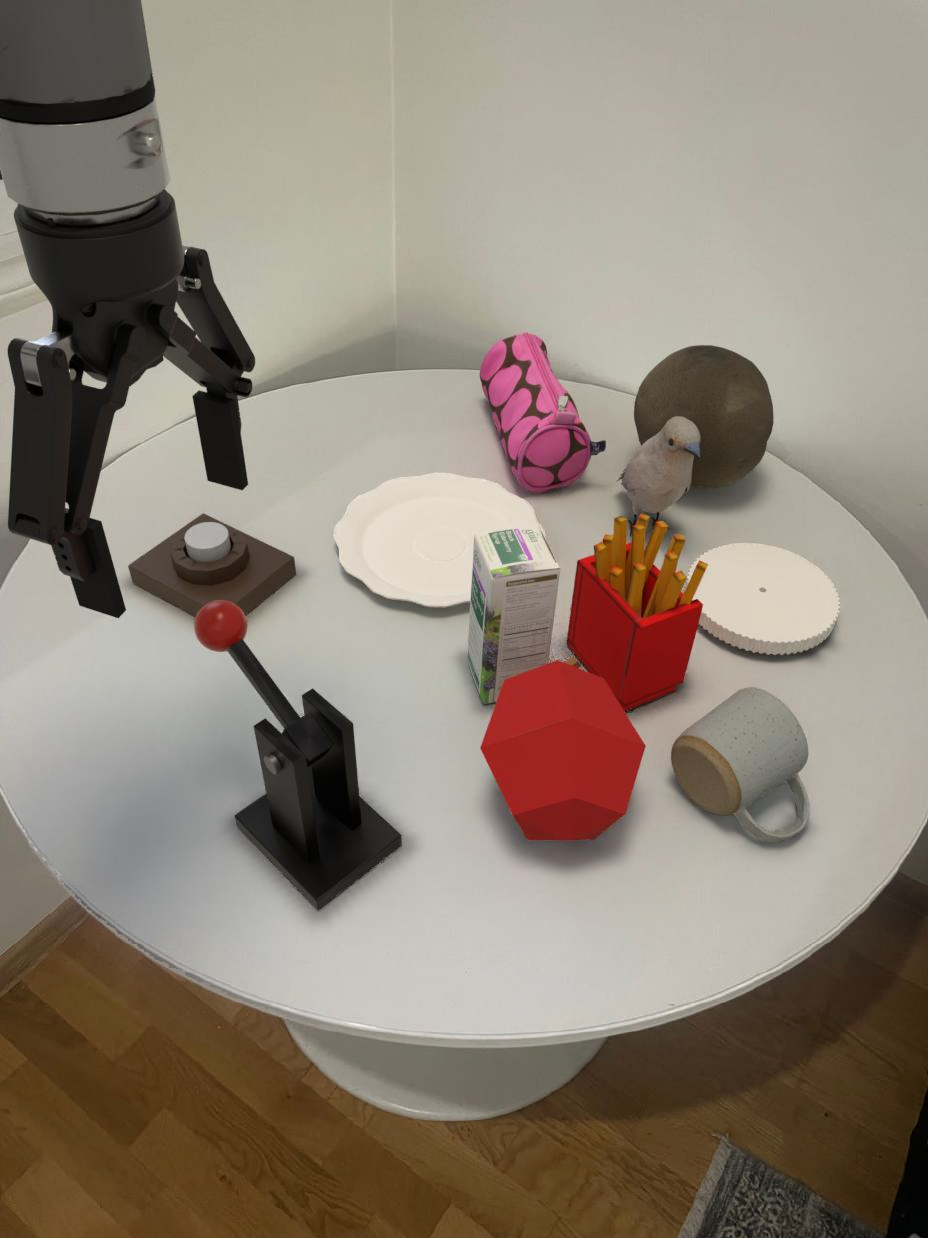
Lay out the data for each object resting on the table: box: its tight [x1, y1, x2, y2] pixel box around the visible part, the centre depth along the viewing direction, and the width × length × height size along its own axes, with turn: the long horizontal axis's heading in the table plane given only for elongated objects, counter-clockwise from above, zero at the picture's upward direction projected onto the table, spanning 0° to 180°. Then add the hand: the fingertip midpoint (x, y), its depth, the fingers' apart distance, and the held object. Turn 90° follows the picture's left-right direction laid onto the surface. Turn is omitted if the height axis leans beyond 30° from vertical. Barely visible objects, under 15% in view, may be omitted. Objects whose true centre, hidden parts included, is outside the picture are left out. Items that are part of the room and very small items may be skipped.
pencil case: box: [479, 331, 607, 493], centre depth 111 cm, size 21×10×10 cm, turn 13°
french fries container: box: [566, 512, 708, 713], centre depth 84 cm, size 7×9×14 cm
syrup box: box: [467, 526, 561, 705], centre depth 82 cm, size 6×6×14 cm
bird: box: [615, 416, 701, 538], centre depth 98 cm, size 5×14×15 cm, turn 17°
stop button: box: [184, 522, 231, 562], centre depth 93 cm, size 4×4×2 cm
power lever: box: [193, 600, 334, 767], centre depth 68 cm, size 13×4×4 cm, turn 44°
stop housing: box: [127, 512, 297, 618], centre depth 94 cm, size 12×10×4 cm
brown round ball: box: [633, 344, 775, 489], centre depth 104 cm, size 14×14×15 cm
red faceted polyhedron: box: [479, 656, 647, 842], centre depth 74 cm, size 12×12×15 cm
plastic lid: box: [683, 541, 841, 656], centre depth 93 cm, size 14×14×2 cm
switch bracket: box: [233, 687, 403, 911], centre depth 71 cm, size 10×8×13 cm
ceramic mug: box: [670, 686, 811, 843], centre depth 76 cm, size 11×8×8 cm
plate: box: [332, 471, 547, 609], centre depth 100 cm, size 21×21×2 cm
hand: (170, 541), depth 62 cm, fingers open, 13 cm apart
